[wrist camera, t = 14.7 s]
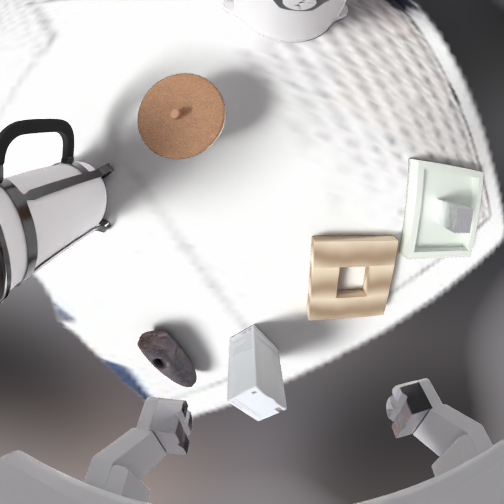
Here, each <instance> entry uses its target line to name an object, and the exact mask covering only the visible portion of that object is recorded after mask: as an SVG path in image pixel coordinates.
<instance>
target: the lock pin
mask: <svg viewBox="0 0 504 504" xmlns="http://www.w3.org/2000/svg"><path fill="white" fill-rule="evenodd" d="M473 210H474V209H472V208H470V207H468V206H465V205H463V204H461V203H458V202H456V201H454V200H446V199H437V201H436V210H435V217H434V222H436V223H438V224H439V225H441V226H443V227H445V228H446V229H448V230H450V231H451V232H453V233H470V228H471V223H472V217H473Z"/></svg>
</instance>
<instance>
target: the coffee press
mask: <svg viewBox="0 0 504 504" xmlns="http://www.w3.org/2000/svg"><path fill="white" fill-rule="evenodd" d="M41 132H58V133H59V134H60V135H61V137H62V139H63V157H62V159H61V162H60V163H57V164H54V165H52V166H49V167H45V168H41V169H37V170H33V171H29V172H25V173H22V174H18V175H14V176H11V177H8V178H4V179H3V164H4V160H5V154H6V150H7V148H8V146H9V144H10V143H11V142H12V140H13V139H15V138H16V137H17V136H19V135H22V134H30V133H41ZM73 153H74V134H73V130H72V128H71V126H70V125H69V123H67V122H66V121H64V120H60V119H32V120H22V121H17V122H14V123H12V124H10V125H8V126H7V127H6V128H4V129H3V130H2V131H1V133H0V303H1V302H3V301H4V299H6V297H7V296H8V294H9V292H10V290H11V289H12V288H13V287H16V286H19V285H20V284H21V283H23V282H24V281H25V280H26V279H27V278H29V277H30V276H31V275H32V274H33V273H35V272H36V271H38V270H39V269H40V268H42V267H43V266H44V265H46V264H47V263H48V262H50V261H51V260H52V259H54V258H55V257H57V256H58V255H59V254H61V253H62V252H63V251H65V250H66V249H68V248H69V247H71V246H72V245H74V244H75V243H76V242H78V241H79V240H81V239H82V238H84V237H85V236H87V235H88V234H90V233H92V232H93V231H101V232H105V231H106V230H107V229H109V228H110V224H109V222H108V221H106V220H105V219H103V216H104V213H105V209H106V203H107V195H106V189H105V185H104V182H103V180H102V179H103V178H105V177H106V176H107V175H109V174H110V173H111V172H112V171H113V169H112V167H111V166H110V164H109V163H108V164H106V165H104V166H103V167H101V168H99V169H97V170H95V169H94V168H93V167H92V166H91V165H89V164H87V163H85V162H79V161H75V162H74V157H73ZM98 224H100V225H99V226H97V225H98ZM96 226H97V227H96Z"/></svg>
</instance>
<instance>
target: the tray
mask: <svg viewBox="0 0 504 504" xmlns="http://www.w3.org/2000/svg"><path fill="white" fill-rule="evenodd" d="M483 175H484V173H483V172H480V171H476V170H472V169H467V168H462V167H457V166H452V165H447V164H441V163H435V162H429V161H423V160H416V159H409V168H408V184H407V196H406V206H405V215H404V223H403V231H402V237H401V244H400V250H399V253H401V254H402V255H403V256H404V257H405V258H406V259H425V258H448V257H470V256H471V252H472V248H473V243H474V239H475V234H476V228H477V223H478V217H479V210H480V203H481V195H482V186H483ZM437 199H446V200H454V201H456V202H458V203H461V204H463V205H465V206H468V207H470V208H472V209H474V210H473V217H472V223H471V228H470V233H453V232H451V231H450V230H448V229H446V228H445V227H443V226H441V225H439V224H438V223H436V222H434V217H435V210H436V201H437Z"/></svg>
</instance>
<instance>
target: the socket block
mask: <svg viewBox="0 0 504 504" xmlns="http://www.w3.org/2000/svg"><path fill="white" fill-rule="evenodd" d="M397 248H398V240H397V239H396V238H394V237H393V236H312V243H311V261H310V276H309V289H308V302H307V316H308V320H309V321H313V320H329V319H343V318H355V317H366V316H376V315H384V311H385V307H386V303H387V298H388V294H389V290H390V285H391V280H392V275H393V270H394V265H395V260H396V254H397ZM362 266H366V269H365V276H364V282H363V288H362V289H355V290H337V286H338V278H339V269H340V267H362Z"/></svg>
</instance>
